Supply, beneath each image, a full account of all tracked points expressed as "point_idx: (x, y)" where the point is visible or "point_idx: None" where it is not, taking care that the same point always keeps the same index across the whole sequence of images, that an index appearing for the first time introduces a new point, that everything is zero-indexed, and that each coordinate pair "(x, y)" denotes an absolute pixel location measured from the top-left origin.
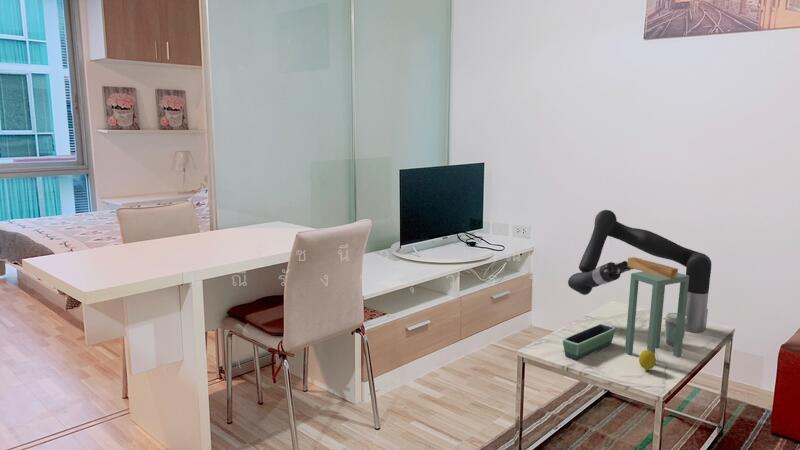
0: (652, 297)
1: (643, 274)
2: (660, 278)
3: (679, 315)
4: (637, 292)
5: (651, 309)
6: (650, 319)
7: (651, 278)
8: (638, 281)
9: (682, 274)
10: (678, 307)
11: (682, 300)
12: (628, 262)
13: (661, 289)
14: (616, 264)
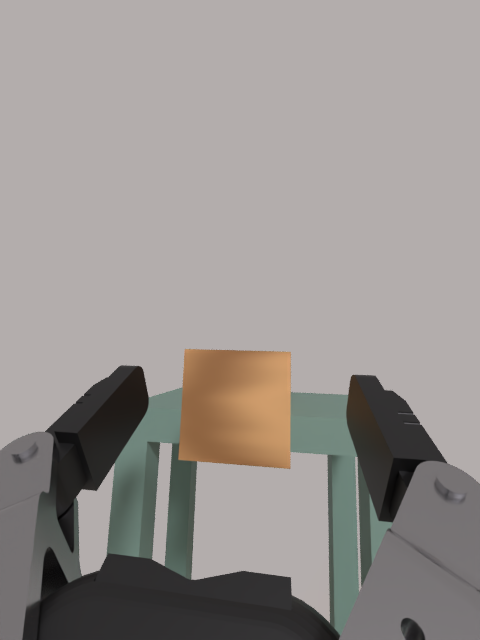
0: (354, 472)
1: (338, 409)
2: (309, 395)
3: (189, 557)
4: (362, 538)
5: (355, 528)
6: (357, 577)
7: (347, 399)
8: (358, 462)
9: (179, 390)
10: (188, 528)
11: (194, 485)
12: (288, 405)
13: (152, 523)
14: (469, 489)
